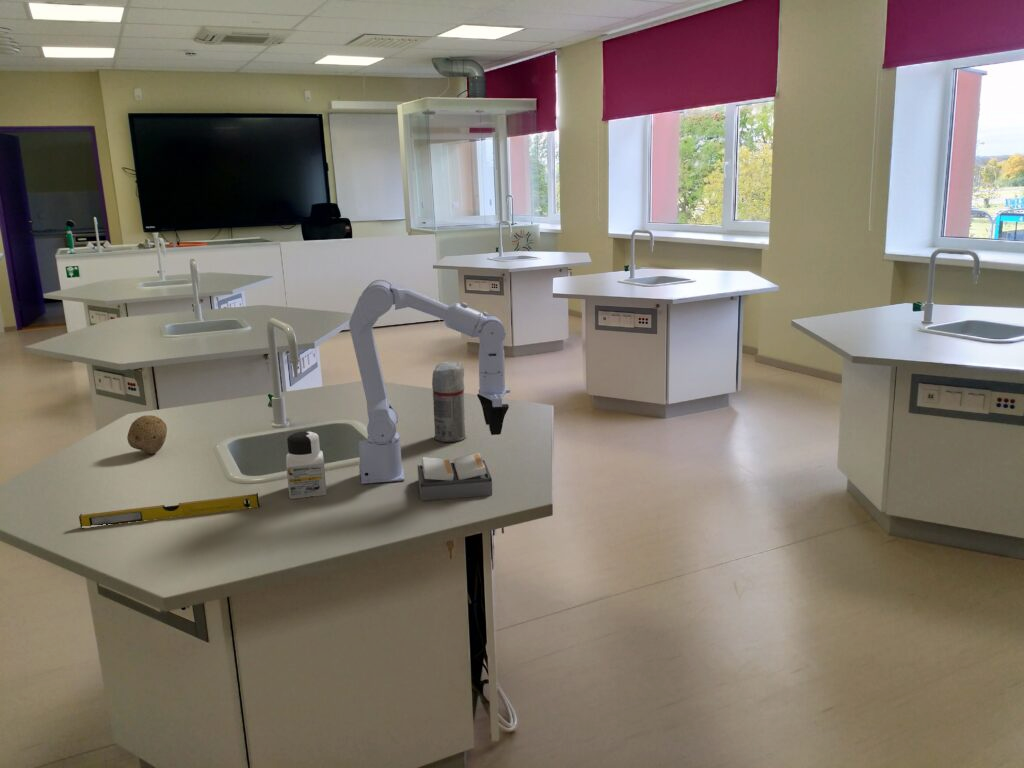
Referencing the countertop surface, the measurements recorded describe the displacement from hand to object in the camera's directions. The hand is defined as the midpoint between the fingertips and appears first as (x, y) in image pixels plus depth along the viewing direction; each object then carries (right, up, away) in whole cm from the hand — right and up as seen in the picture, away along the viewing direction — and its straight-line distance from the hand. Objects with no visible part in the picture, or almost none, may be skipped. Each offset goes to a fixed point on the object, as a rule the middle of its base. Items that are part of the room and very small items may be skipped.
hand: (493, 429), depth 179 cm
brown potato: (-86, -7, +19) cm, 89 cm away
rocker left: (-12, -9, -8) cm, 17 cm away
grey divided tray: (-8, -12, -7) cm, 16 cm away
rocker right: (-5, -8, -7) cm, 12 cm away
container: (-40, -13, -7) cm, 43 cm away
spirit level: (-64, -17, -19) cm, 69 cm away
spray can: (-12, -4, +26) cm, 29 cm away
